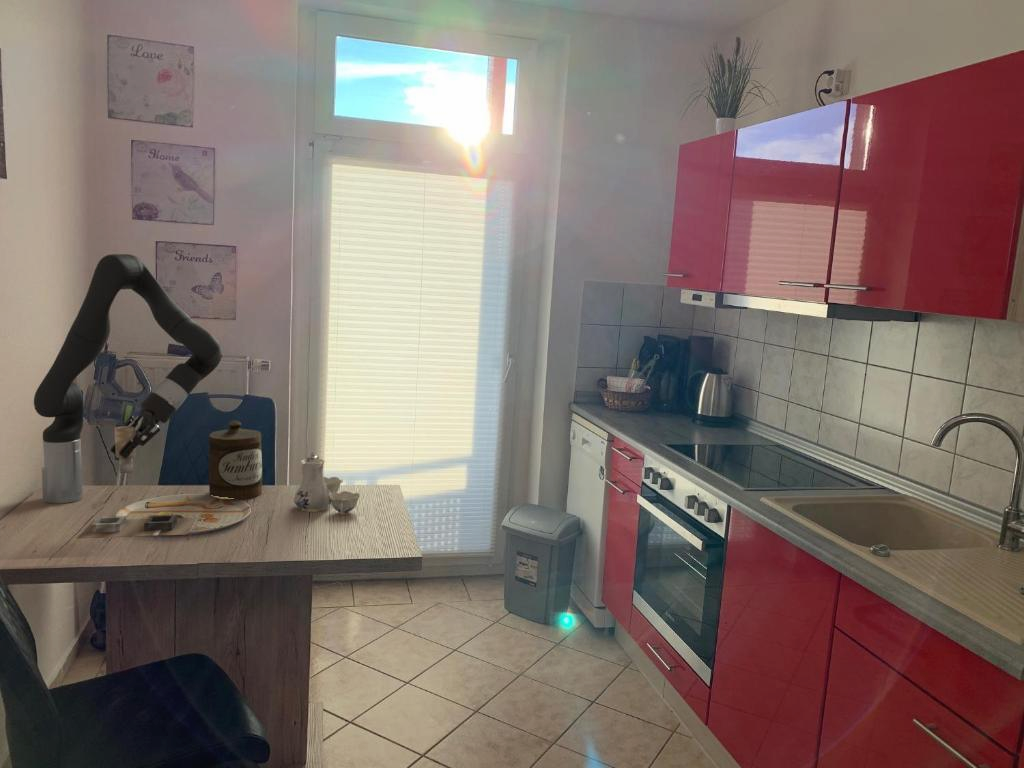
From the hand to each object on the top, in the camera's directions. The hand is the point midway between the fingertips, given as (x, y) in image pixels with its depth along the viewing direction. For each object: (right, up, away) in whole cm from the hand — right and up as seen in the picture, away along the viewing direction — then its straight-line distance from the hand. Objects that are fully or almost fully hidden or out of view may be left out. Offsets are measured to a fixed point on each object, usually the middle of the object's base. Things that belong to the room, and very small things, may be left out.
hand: (117, 454), depth 199 cm
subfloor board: (+3, -20, +5) cm, 21 cm away
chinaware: (+43, -18, +33) cm, 57 cm away
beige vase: (+1, -4, +2) cm, 5 cm away
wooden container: (+14, -16, +43) cm, 48 cm away
